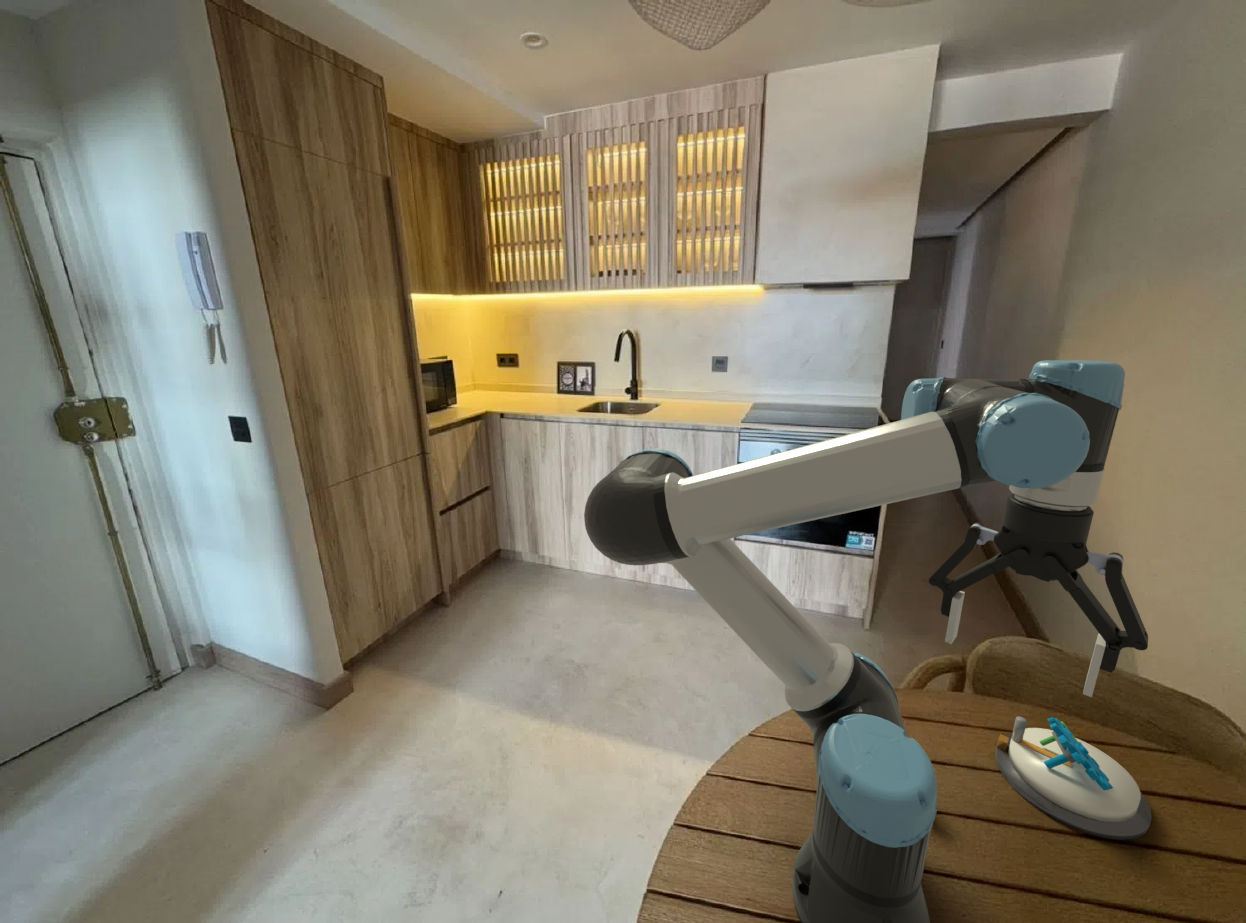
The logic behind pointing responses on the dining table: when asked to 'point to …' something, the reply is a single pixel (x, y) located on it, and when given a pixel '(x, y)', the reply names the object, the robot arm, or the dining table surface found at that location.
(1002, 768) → the dial base
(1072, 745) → the gear
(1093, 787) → the dial
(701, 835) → the dining table surface
